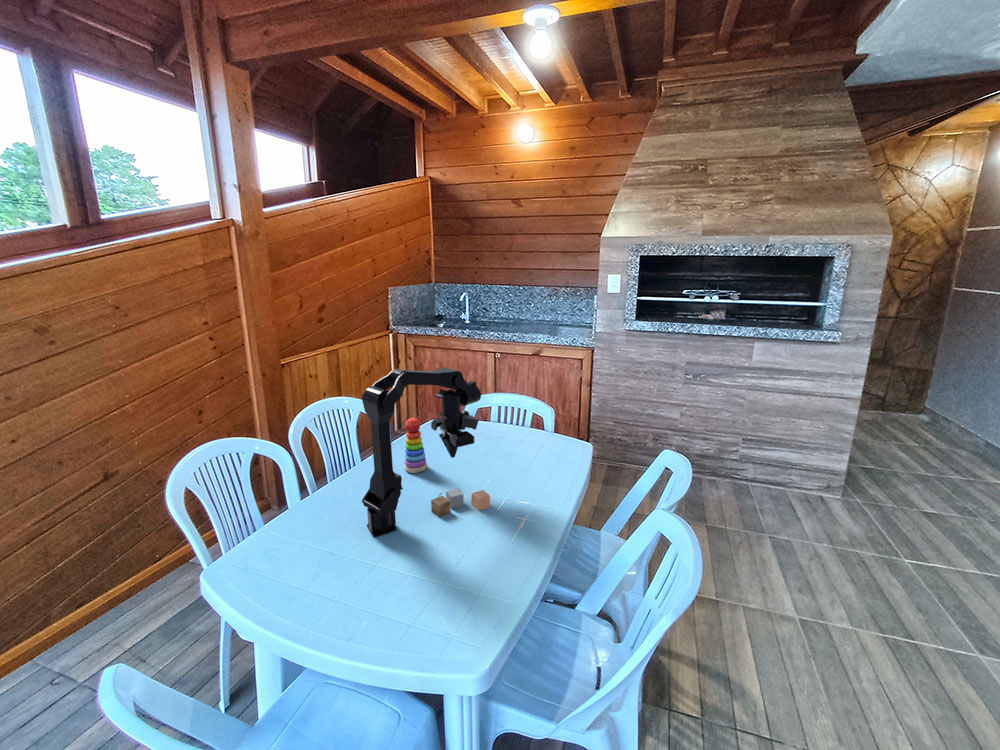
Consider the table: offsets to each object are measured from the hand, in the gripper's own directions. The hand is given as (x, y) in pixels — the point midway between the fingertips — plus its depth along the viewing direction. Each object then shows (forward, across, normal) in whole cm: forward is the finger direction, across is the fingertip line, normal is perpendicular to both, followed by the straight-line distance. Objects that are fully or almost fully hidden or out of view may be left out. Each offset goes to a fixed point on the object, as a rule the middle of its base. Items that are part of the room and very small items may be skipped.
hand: (452, 457), depth 148 cm
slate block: (+12, -7, +3) cm, 14 cm away
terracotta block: (+12, -12, -3) cm, 17 cm away
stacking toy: (+12, +22, +4) cm, 25 cm away
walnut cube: (+12, -9, +8) cm, 17 cm away
